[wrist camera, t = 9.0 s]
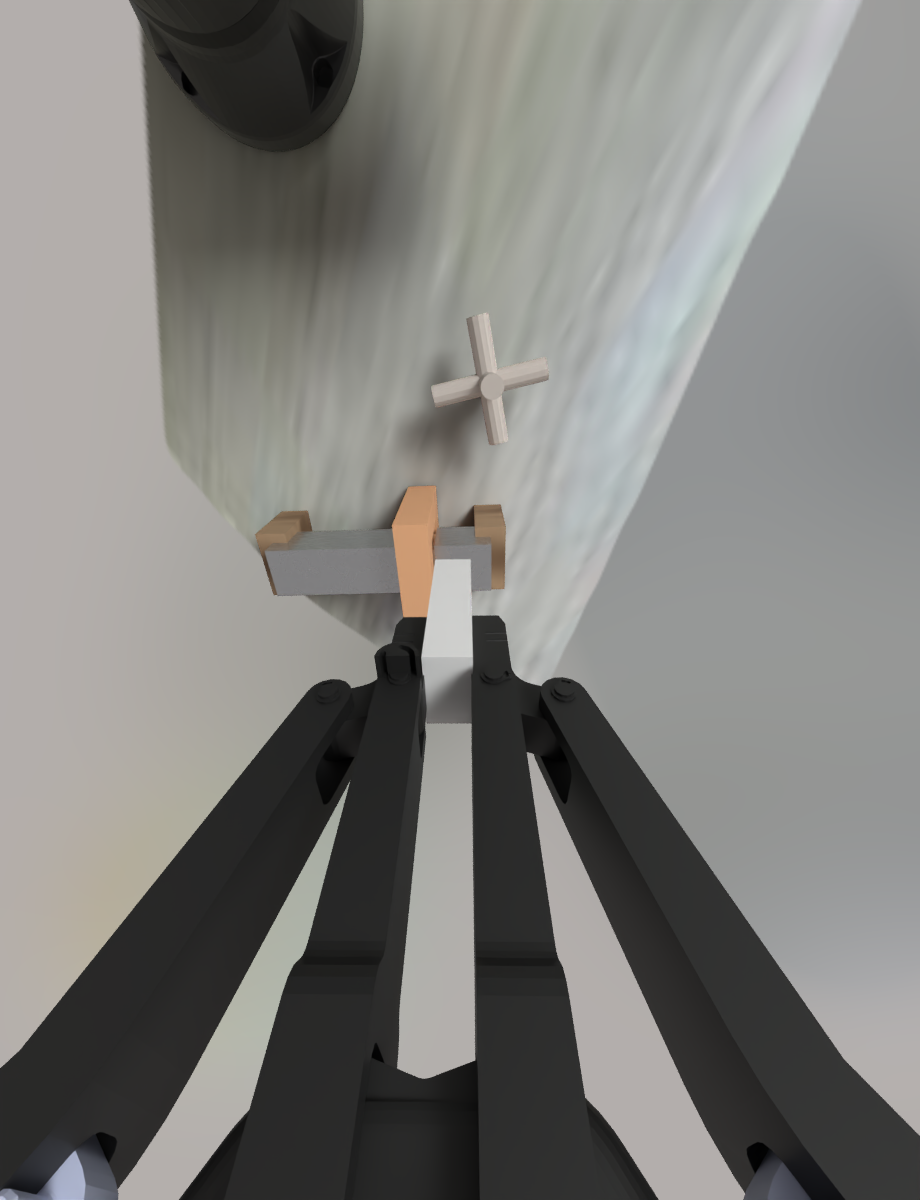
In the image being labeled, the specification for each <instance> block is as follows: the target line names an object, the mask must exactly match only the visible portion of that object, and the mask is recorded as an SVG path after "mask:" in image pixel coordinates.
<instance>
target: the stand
mask: <svg viewBox="0 0 920 1200" xmlns="http://www.w3.org/2000/svg"><path fill="white" fill-rule="evenodd" d="M474 526H475V537H490V538H491V589H504V584H505V535H506V526H505V522H504V517H503V513H502V509H501V505H474ZM309 531H312V527H311V523H310V519H309V514H308V511H284V512H281V513H280V514H278V515H277V516H276V517H275V518H274V519H273V520H271V521H270V522H269V523H268V524H267V525H266V526H264V527H263V528H262V529H261V530H260V531H259V532H257V533H256V534H255V535H256V539H257V542H258V545H259V548H260V552H261V555H262V558H263V561H264V565H265V568H266V571H267V575H268V578H269V581H270V585H271V587H272V591H273V594H274V595H277V592H276V588H275V585H274V582H273V578H272V575H271V572H270V568H269V565H268V562H267V558H266V555H265V552H264V551H265V550H266V549H267V548H268V547H269V546H270V545H271V544H272V543H288V542H289V540H290V539H291V538H292V537H293V536H294V535H295V534H296V533H297V532H309Z"/></svg>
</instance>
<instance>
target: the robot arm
mask: <svg viewBox="0 0 920 1200" xmlns="http://www.w3.org/2000/svg"><path fill="white" fill-rule="evenodd" d="M129 1H130V3H131V5H132V8H133V9H134V12H135V14H136V16H137V18H138V20H139V22H140V24H141V26H142V28H143V30H144V32H145V34H146V36H147V38H148V40H149V42H150V44H151V46H152V48H153V49H154V51H155V53H156V55H157V56H158V58H159V60H160V61H161V63H162V65H163V66H164V68H165V69H166V71H167V72H168V73H169V75H170V76H171V78H172V79H173V80H174V82H175V83H176V84H177V86H178V87H179V88H180V90H181V91H182V92H183V93H184V94H185V95H186V97H187V98H188V99H189V100H190V101H191V102H192V103H193V104H194V105H195V106H196V107H197V108H198V109H199V110H200V111H201V112H202V113H203V114H205V115H206V116H207V117H208V118H209V119H210V120H211V121H212V122H213V123H214V124H215V125H217V126H218V127H219V128H220V129H221V130H223V131H224V132H226V133H227V134H228V135H230V136H231V137H233V138H235V139H236V140H238V141H240V142H242V143H244V144H246V145H249V146H251V147H254V148H258V149H262V150H267V151H288V150H293V149H297V148H300V147H302V146H304V145H307V144H309V143H310V142H312V141H314V140H315V139H317V138H318V137H319V136H321V135H322V134H323V133H324V132H325V131H326V130H327V129H328V128H329V127H330V126H331V125H332V123H333V122H334V121H335V119H336V118H337V117H338V115H339V113H340V112H341V110H342V109H343V107H344V105H345V103H346V101H347V99H348V96H349V94H350V92H351V89H352V86H353V84H354V80H355V77H356V73H357V69H358V65H359V60H360V54H361V47H362V38H363V0H129ZM375 663H376V670H377V677H378V678H377V680H375V681H374V682H372V683H370V684H367V685H364V686H360V687H356V688H351V687H350V686H349V684H348V683H346V682H345V681H342V680H335V679H330V680H327V681H322V682H320V683H318V684H316V685H314V686H313V687H312V688H311V689H310V690H308V692H307V693H306V694H305V695H304V697H303V698H302V699H301V700H300V702H299V703H298V704H297V705H296V707H295V708H294V709H293V710H292V712H291V713H290V714H289V715H288V717H287V718H286V719H285V720H284V722H283V723H282V724H281V725H280V726H279V728H278V729H277V730H276V731H275V733H274V734H273V735H272V736H271V738H270V739H269V740H268V742H267V743H266V744H265V745H264V746H263V748H262V749H261V750H260V751H259V753H258V754H257V755H256V757H255V758H254V759H253V760H252V761H251V763H250V764H249V765H248V766H247V768H246V769H245V770H244V771H243V773H242V774H241V775H240V776H239V778H238V779H237V780H236V781H235V783H234V784H233V785H232V786H231V788H230V789H229V790H228V791H227V793H226V794H225V795H224V796H223V798H222V799H221V800H220V801H219V803H218V804H217V805H216V807H215V808H214V809H213V810H212V811H211V813H210V814H209V815H208V817H207V818H206V819H205V820H204V821H203V823H202V824H201V825H200V826H199V828H198V829H197V830H196V831H195V833H194V834H193V835H192V837H191V838H190V839H189V840H188V841H187V843H186V844H185V845H184V846H183V848H182V849H181V850H180V851H179V853H178V854H177V855H176V856H175V858H174V859H173V860H172V861H171V862H170V864H169V865H168V866H167V867H166V869H165V870H164V871H163V872H162V874H161V875H160V876H159V878H158V879H157V880H156V881H155V883H154V884H153V885H152V886H151V888H150V889H149V890H148V891H147V892H146V894H145V895H144V896H143V898H142V899H141V900H140V901H139V903H138V904H137V905H136V906H135V908H134V909H133V910H132V911H131V912H130V914H129V915H128V916H127V917H126V919H125V920H124V921H123V922H122V924H121V925H120V926H119V927H118V929H117V930H116V931H115V932H114V934H113V935H112V936H111V937H110V939H109V940H108V941H107V942H106V944H105V945H104V946H103V947H102V949H101V950H100V951H99V952H98V954H97V955H96V956H95V958H94V959H93V960H92V961H91V962H90V964H89V965H88V966H87V967H86V969H85V970H84V971H83V972H82V974H81V975H80V976H79V977H78V979H77V980H76V981H75V982H74V984H73V985H72V986H71V987H70V988H69V990H68V991H67V992H66V993H65V995H64V996H63V997H62V999H61V1000H60V1001H59V1002H58V1003H57V1005H56V1006H55V1007H54V1008H53V1010H52V1011H51V1012H50V1013H49V1015H48V1016H47V1017H46V1019H45V1020H44V1021H43V1022H42V1024H41V1025H40V1026H39V1027H38V1028H37V1030H36V1031H35V1032H34V1033H33V1035H32V1036H31V1037H30V1038H29V1040H28V1041H27V1042H26V1043H25V1045H24V1046H23V1047H22V1049H21V1050H20V1051H19V1052H18V1053H16V1054H15V1055H14V1056H13V1057H12V1058H11V1059H10V1060H9V1061H8V1062H7V1063H6V1064H5V1065H3V1066H2V1067H1V1068H0V1200H118V1190H117V1189H118V1188H119V1187H120V1185H121V1184H122V1183H123V1181H124V1180H125V1179H126V1177H127V1176H128V1175H129V1173H130V1172H131V1171H132V1169H133V1168H134V1167H135V1165H136V1164H137V1162H138V1160H139V1159H140V1158H141V1156H142V1154H143V1153H144V1152H145V1150H146V1149H147V1147H148V1145H149V1144H150V1142H151V1141H152V1139H153V1138H154V1136H155V1135H156V1133H157V1132H158V1131H159V1129H160V1127H161V1126H162V1124H163V1123H164V1121H165V1120H166V1118H167V1116H168V1115H169V1113H170V1111H171V1109H172V1108H173V1106H174V1104H175V1103H176V1101H177V1099H178V1097H179V1095H180V1094H181V1092H182V1091H183V1089H184V1087H185V1085H186V1084H187V1082H188V1080H189V1078H190V1077H191V1075H192V1073H193V1071H194V1069H195V1067H196V1065H197V1063H198V1062H199V1060H200V1058H201V1056H202V1054H203V1052H204V1051H205V1049H206V1047H207V1045H208V1043H209V1041H210V1039H211V1038H212V1036H213V1034H214V1032H215V1030H216V1028H217V1027H218V1025H219V1023H220V1021H221V1019H222V1017H223V1015H224V1013H225V1012H226V1010H227V1008H228V1006H229V1004H230V1002H231V1001H232V999H233V997H234V995H235V993H236V991H237V989H238V988H239V986H240V984H241V982H242V980H243V978H244V976H245V974H246V973H247V971H248V969H249V967H250V965H251V963H252V962H253V960H254V958H255V956H256V954H257V952H258V950H259V949H260V947H261V945H262V943H263V941H264V939H265V938H266V936H267V934H268V932H269V930H270V928H271V926H272V925H273V922H274V921H275V919H276V917H277V915H278V913H279V911H280V909H281V908H282V906H283V904H284V902H285V900H286V898H287V897H288V895H289V893H290V891H291V889H292V887H293V886H294V884H295V882H296V880H297V878H298V876H299V874H300V873H301V871H302V869H303V867H304V865H305V863H306V861H307V859H308V857H309V856H310V854H311V852H312V850H313V848H314V847H315V845H316V843H317V841H318V839H319V837H320V835H321V834H322V832H323V830H324V828H325V826H326V824H327V822H328V821H329V819H330V817H331V815H332V813H333V811H334V809H335V807H336V806H337V804H338V802H339V800H340V798H341V796H342V795H343V793H344V791H345V789H346V787H347V785H348V783H349V782H350V784H349V788H348V792H347V796H346V800H345V803H344V807H343V811H342V815H341V818H340V822H339V826H338V830H337V834H336V837H335V841H334V845H333V849H332V852H331V856H330V860H329V864H328V868H327V871H326V875H325V879H324V883H323V887H322V891H321V895H320V898H319V902H318V906H317V909H316V913H315V917H314V921H313V925H312V928H311V933H310V936H309V940H308V943H307V946H306V949H305V952H304V954H303V956H302V957H301V958H300V959H299V960H298V961H297V962H296V963H295V964H294V966H293V968H292V970H291V972H290V974H289V976H288V978H287V981H286V985H285V987H284V990H283V993H282V996H281V1000H280V1003H279V1007H278V1011H277V1014H276V1018H275V1021H274V1025H273V1028H272V1032H271V1035H270V1039H269V1042H268V1046H267V1050H266V1054H265V1057H264V1060H263V1064H262V1067H261V1071H260V1074H259V1078H258V1082H257V1085H256V1089H255V1092H254V1096H253V1099H252V1103H251V1106H250V1110H249V1111H248V1112H247V1113H246V1114H245V1115H244V1116H243V1118H242V1119H241V1120H240V1121H239V1122H238V1123H237V1124H236V1125H235V1126H234V1128H233V1129H232V1130H231V1131H230V1133H229V1134H228V1135H227V1137H226V1138H225V1139H224V1141H223V1142H222V1143H221V1145H220V1146H219V1147H218V1149H217V1150H216V1151H215V1152H214V1154H213V1155H212V1156H211V1158H210V1159H209V1161H208V1162H207V1163H206V1164H205V1166H204V1167H203V1168H202V1170H201V1171H200V1172H199V1174H198V1175H197V1177H196V1178H195V1179H194V1181H193V1182H192V1183H191V1184H190V1186H189V1187H188V1189H187V1190H186V1191H185V1192H184V1194H183V1195H182V1196H181V1198H180V1199H179V1200H658V1198H657V1197H656V1195H655V1193H654V1192H653V1190H652V1189H651V1187H650V1186H649V1184H648V1182H647V1181H646V1179H645V1178H644V1176H643V1175H642V1173H641V1172H640V1170H639V1169H638V1167H637V1165H636V1164H635V1162H634V1161H633V1159H632V1157H631V1156H630V1154H629V1153H628V1151H627V1150H626V1148H625V1146H624V1145H623V1143H622V1142H621V1140H620V1139H619V1138H618V1136H617V1135H616V1133H615V1131H614V1130H613V1129H612V1128H611V1126H610V1125H609V1124H608V1123H607V1121H606V1120H605V1119H604V1118H603V1116H602V1115H601V1114H600V1113H599V1111H598V1110H597V1109H596V1108H595V1107H593V1105H592V1104H591V1103H590V1102H589V1101H588V1100H587V1099H586V1098H585V1094H584V1088H583V1081H582V1075H581V1069H580V1062H579V1056H578V1050H577V1043H576V1037H575V1031H574V1024H573V1018H572V1012H571V1005H570V999H569V993H568V988H567V982H566V978H565V974H564V970H563V967H562V965H561V963H560V961H559V959H558V956H557V952H556V948H555V941H554V934H553V927H552V921H551V914H550V907H549V900H548V894H547V887H546V880H545V873H544V867H543V860H542V853H541V846H540V840H539V834H538V826H537V820H536V813H535V806H534V799H533V792H532V786H531V779H530V772H529V766H528V758H527V752H529V753H533V754H534V756H535V759H536V761H537V764H538V766H539V768H540V771H541V773H542V775H543V777H544V779H545V781H546V784H547V786H548V788H549V790H550V792H551V794H552V797H553V799H554V801H555V803H556V806H557V807H558V810H559V812H560V814H561V816H562V819H563V821H564V823H565V825H566V827H567V830H568V832H569V834H570V836H571V838H572V840H573V842H574V845H575V847H576V849H577V851H578V854H579V856H580V858H581V860H582V862H583V865H584V867H585V869H586V871H587V873H588V875H589V877H590V880H591V882H592V884H593V886H594V888H595V891H596V893H597V895H598V897H599V899H600V902H601V904H602V906H603V908H604V910H605V912H606V915H607V917H608V919H609V921H610V924H611V925H612V928H613V930H614V932H615V934H616V937H617V939H618V941H619V943H620V945H621V947H622V949H623V952H624V954H625V956H626V958H627V960H628V963H629V965H630V967H631V969H632V972H633V974H634V976H635V978H636V980H637V983H638V984H639V987H640V989H641V991H642V993H643V996H644V998H645V1000H646V1002H647V1004H648V1006H649V1009H650V1011H651V1013H652V1015H653V1017H654V1019H655V1022H656V1024H657V1026H658V1028H659V1031H660V1033H661V1035H662V1037H663V1039H664V1041H665V1044H666V1046H667V1048H668V1050H669V1052H670V1055H671V1057H672V1059H673V1061H674V1063H675V1065H676V1067H677V1069H678V1072H679V1074H680V1076H681V1078H682V1081H683V1083H684V1085H685V1087H686V1089H687V1091H688V1093H689V1095H690V1097H691V1099H692V1101H693V1103H694V1105H695V1107H696V1109H697V1111H698V1113H699V1115H700V1117H701V1119H702V1121H703V1123H704V1125H705V1127H706V1129H707V1131H708V1132H709V1134H710V1136H711V1138H712V1139H713V1141H714V1143H715V1145H716V1146H717V1148H718V1150H719V1151H720V1153H721V1155H722V1157H723V1158H724V1160H725V1162H726V1163H727V1165H728V1167H729V1169H730V1170H731V1172H732V1174H733V1176H734V1177H735V1179H736V1180H737V1181H738V1183H739V1184H740V1186H741V1187H742V1189H743V1191H744V1192H745V1196H744V1199H743V1200H920V1136H919V1135H918V1134H917V1133H916V1132H915V1131H914V1130H913V1129H912V1128H911V1127H910V1126H909V1125H908V1124H907V1123H906V1122H905V1121H904V1120H903V1119H902V1118H901V1117H900V1116H899V1115H898V1114H897V1113H896V1112H895V1111H894V1110H893V1108H891V1106H889V1104H887V1102H886V1101H885V1100H884V1099H883V1098H882V1097H881V1096H880V1095H879V1094H878V1093H876V1091H875V1090H874V1089H873V1088H872V1087H871V1086H870V1085H869V1084H868V1083H867V1082H866V1081H865V1080H864V1079H863V1078H862V1077H861V1076H860V1075H859V1074H858V1073H857V1072H856V1071H855V1070H854V1069H853V1068H852V1067H851V1066H850V1065H849V1064H848V1063H847V1062H846V1061H845V1060H844V1059H843V1057H842V1056H841V1054H840V1053H839V1052H838V1050H837V1049H836V1047H835V1046H834V1044H833V1043H832V1042H831V1040H830V1039H829V1037H828V1036H827V1035H826V1033H825V1032H824V1030H823V1029H822V1027H821V1026H820V1024H819V1023H818V1022H817V1020H816V1019H815V1017H814V1016H813V1014H812V1013H811V1011H810V1010H809V1009H808V1007H807V1006H806V1004H805V1003H804V1001H803V1000H802V999H801V997H800V996H799V994H798V993H797V991H796V990H795V989H794V987H793V986H792V984H791V983H790V981H789V980H788V979H787V977H786V976H785V974H784V973H783V971H782V970H781V969H780V967H779V966H778V964H777V963H776V961H775V960H774V959H773V957H772V956H771V954H770V953H769V952H768V950H767V949H766V947H765V946H764V944H763V943H762V942H761V940H760V939H759V937H758V936H757V935H756V933H755V932H754V930H753V929H752V927H751V926H750V924H749V923H748V921H747V920H746V919H745V917H744V916H743V914H742V913H741V911H740V910H739V909H738V907H737V906H736V904H735V903H734V901H733V900H732V899H731V897H730V896H729V894H728V893H727V891H726V890H725V889H724V887H723V886H722V884H721V883H720V881H719V880H718V879H717V877H716V876H715V875H714V873H713V871H712V870H711V869H710V867H709V866H708V864H707V863H706V861H705V860H704V859H703V857H702V856H701V854H700V853H699V851H698V850H697V849H696V847H695V846H694V844H693V843H692V841H691V840H690V838H689V837H688V836H687V835H686V833H685V831H684V830H683V828H682V827H681V826H680V824H679V823H678V821H677V820H676V818H675V817H674V816H673V814H672V813H671V811H670V810H669V809H668V807H667V806H666V804H665V803H664V802H663V800H662V799H661V797H660V796H659V794H658V793H657V792H656V790H655V788H654V787H653V786H652V784H651V783H650V782H649V780H648V778H647V777H646V776H645V774H644V773H643V771H642V770H641V768H640V767H639V766H638V764H637V763H636V761H635V760H634V758H633V757H632V756H631V754H630V753H629V751H628V750H627V749H626V747H625V746H624V744H623V743H622V741H621V740H620V738H619V737H618V736H617V734H616V733H615V731H614V730H613V728H612V727H611V726H610V724H609V723H608V721H607V720H606V718H605V717H604V716H603V714H602V713H601V711H600V710H599V708H598V707H597V706H596V704H595V703H594V701H593V700H592V698H591V697H590V696H589V694H588V693H587V691H586V690H585V689H584V688H583V687H582V686H581V685H580V684H579V683H577V682H575V681H574V680H571V679H567V678H563V677H562V678H552V679H549V680H547V681H546V682H545V683H543V684H542V686H538V685H534V684H530V683H527V682H525V681H523V680H521V679H519V678H518V677H517V676H516V675H515V674H514V672H513V671H512V668H511V662H510V655H509V648H508V641H507V634H506V627H505V623H504V622H503V621H502V619H501V618H500V617H499V616H472V599H471V559H440V560H435V565H434V572H433V579H432V586H431V593H430V600H429V607H428V614H427V617H403V619H402V620H401V621H400V622H399V623H398V624H397V625H396V628H395V632H394V636H393V640H392V643H391V644H388V645H386V646H383V647H382V648H381V649H379V650H378V651H377V653H376V654H375ZM426 721H427V723H472V798H473V799H472V803H473V877H474V878H473V881H474V955H475V956H474V958H475V959H474V962H475V965H474V966H475V1058H476V1059H475V1061H473V1062H470V1063H468V1064H465V1065H463V1066H460V1067H457V1068H455V1069H452V1070H449V1071H447V1072H444V1073H441V1074H439V1075H436V1076H434V1077H431V1078H428V1079H421V1078H418V1077H415V1076H413V1075H410V1074H408V1073H406V1072H403V1071H401V1070H399V1069H397V1060H398V1047H399V1046H398V1045H399V1007H400V995H401V985H402V975H403V965H404V955H405V944H406V935H407V924H408V913H409V904H410V894H411V884H412V873H413V863H414V853H415V843H416V833H417V823H418V812H419V802H420V792H421V782H422V772H423V762H424V752H425V741H426V731H425V722H426Z"/></svg>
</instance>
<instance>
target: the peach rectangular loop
mask: <svg viewBox="0 0 920 1200" xmlns="http://www.w3.org/2000/svg"><path fill="white" fill-rule="evenodd" d="M437 528H439V525H438V510H437V495H436V486H412V487H408V489H407V491H406V494H405V496H404V498H403V501H402V503H401V505H400V508H399V510H398V512H397V515H396V517H395V519H394V522H393V524H392V531H393V539H394V547H395V555H396V563H397V570H398V578H399V586H400V594H401V602H402V610H403V617H427V614H428V607H429V600H430V593H431V586H432V579H433V572H434V565H433V552H432V537H433V534H436V531H437Z"/></svg>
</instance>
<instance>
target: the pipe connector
mask: <svg viewBox="0 0 920 1200" xmlns="http://www.w3.org/2000/svg"><path fill="white" fill-rule="evenodd" d="M466 320H467V325H468V331H469V336H470V342H471V347H472V353H473V358H474V364H475V369H476V374H475V375H471V376H468V377H464V378H460V379H456V380H452V381H448V382H444V383H440V384H436V385H432V386H431V389H432V394H433V399H434V403H435V406H436V408H438V407H442V406H446V405H450V404H454V403H458V402H462V401H466V400H470V399H474V398H478V397H481V402H482V407H483V413H484V418H485V424H486V429H487V435H488V440H489V444H490V445H496V444H501V443H504V442H507V441H508V434H507V427H506V421H505V415H504V408H503V402H502V396H501V395H502V393H503V391H506V390H510V389H514V388H518V387H522V386H526V385H530V384H535V383H539V382H543V381H547V380H548V379H549V371H548V363H547V359H546V357H542V358H538V359H534V360H530V361H526V362H522V363H518V364H514V365H510V366H507V367H503V368H499V369H497V364H496V358H495V352H494V346H493V339H492V333H491V327H490V320H489V314H488V313H484V314H479V315H476V316H472V317H469V318H467V319H466Z"/></svg>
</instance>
